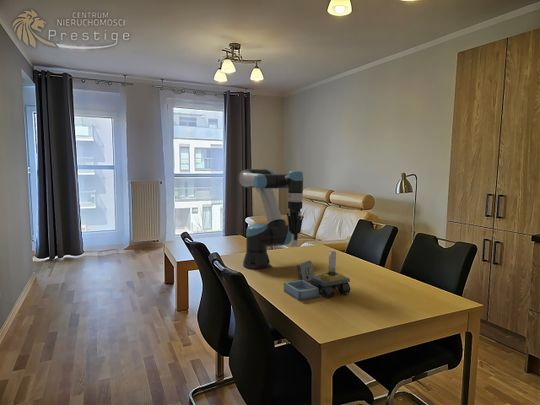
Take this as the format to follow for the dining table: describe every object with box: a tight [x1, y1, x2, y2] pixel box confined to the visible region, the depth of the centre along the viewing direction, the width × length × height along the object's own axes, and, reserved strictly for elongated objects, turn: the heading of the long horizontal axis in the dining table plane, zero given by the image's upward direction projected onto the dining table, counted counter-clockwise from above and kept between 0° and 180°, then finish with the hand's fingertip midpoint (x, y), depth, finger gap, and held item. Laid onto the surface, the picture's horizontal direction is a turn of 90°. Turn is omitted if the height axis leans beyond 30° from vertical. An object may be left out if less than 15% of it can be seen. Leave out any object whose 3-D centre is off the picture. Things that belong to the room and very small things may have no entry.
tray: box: [283, 279, 320, 302], centre depth 161 cm, size 13×10×4 cm
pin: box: [328, 250, 337, 276], centre depth 161 cm, size 3×3×12 cm
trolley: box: [310, 270, 351, 299], centre depth 163 cm, size 13×14×9 cm
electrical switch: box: [295, 259, 315, 282], centre depth 181 cm, size 9×5×9 cm, turn 141°
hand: (294, 245), depth 189 cm, fingers closed
